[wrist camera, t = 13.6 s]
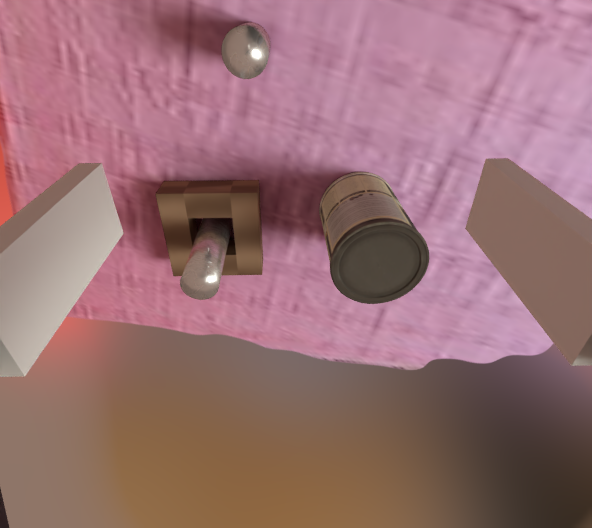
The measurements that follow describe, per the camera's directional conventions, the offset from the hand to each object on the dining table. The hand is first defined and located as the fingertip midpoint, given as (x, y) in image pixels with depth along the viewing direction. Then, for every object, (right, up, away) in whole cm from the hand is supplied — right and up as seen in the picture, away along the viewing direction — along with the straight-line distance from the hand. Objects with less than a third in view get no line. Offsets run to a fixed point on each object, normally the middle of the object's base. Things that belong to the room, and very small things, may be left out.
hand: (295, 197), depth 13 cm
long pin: (-11, +3, +38) cm, 40 cm away
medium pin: (-5, +21, +26) cm, 34 cm away
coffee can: (+8, +5, +38) cm, 39 cm away
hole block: (-11, +3, +38) cm, 40 cm away
